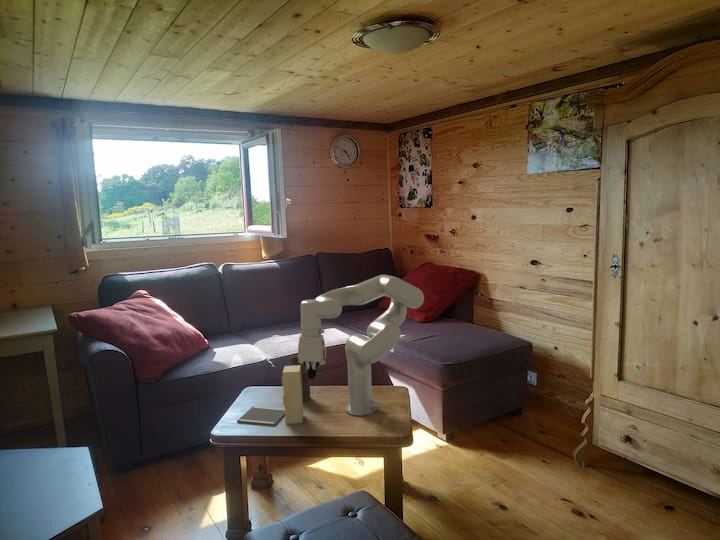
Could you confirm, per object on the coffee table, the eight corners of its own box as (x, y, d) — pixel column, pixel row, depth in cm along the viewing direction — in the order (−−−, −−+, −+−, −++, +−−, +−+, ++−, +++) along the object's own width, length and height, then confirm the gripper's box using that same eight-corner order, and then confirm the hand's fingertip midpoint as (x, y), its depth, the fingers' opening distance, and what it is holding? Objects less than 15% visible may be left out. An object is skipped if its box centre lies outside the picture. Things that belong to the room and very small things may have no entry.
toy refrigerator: (285, 415, 199) (282, 365, 196) (303, 414, 199) (301, 365, 197) (283, 424, 191) (280, 372, 188) (302, 423, 192) (299, 371, 189)
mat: (288, 411, 203) (288, 409, 203) (274, 426, 190) (274, 424, 190) (253, 408, 207) (252, 406, 207) (237, 422, 194) (236, 420, 193)
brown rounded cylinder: (290, 401, 213) (288, 357, 210) (297, 395, 220) (295, 352, 217) (306, 403, 211) (304, 358, 208) (313, 396, 218) (311, 353, 215)
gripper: (332, 330, 190) (333, 376, 192) (296, 328, 194) (297, 373, 196) (326, 335, 183) (327, 383, 185) (289, 333, 186) (290, 380, 189)
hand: (312, 378), depth 190 cm, fingers closed
